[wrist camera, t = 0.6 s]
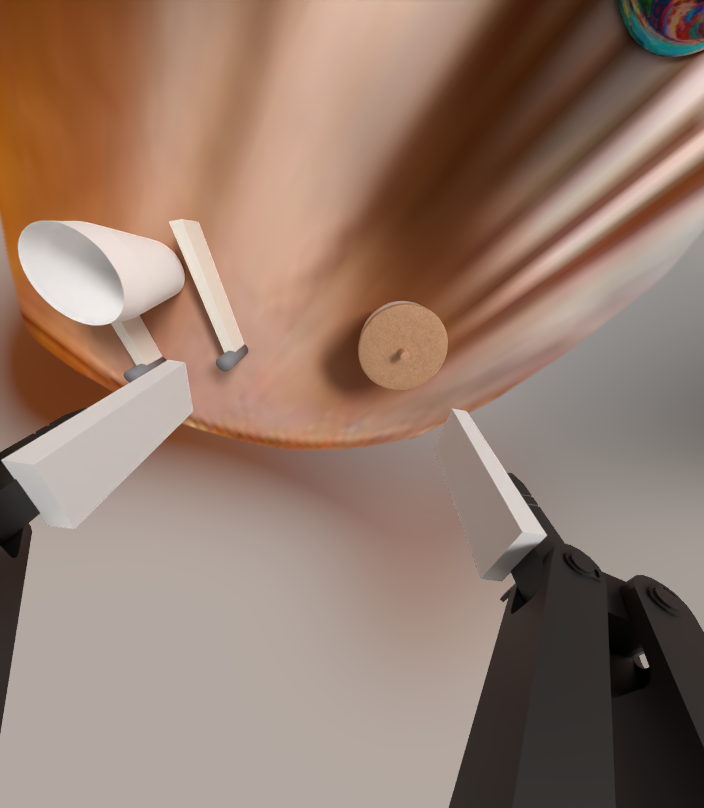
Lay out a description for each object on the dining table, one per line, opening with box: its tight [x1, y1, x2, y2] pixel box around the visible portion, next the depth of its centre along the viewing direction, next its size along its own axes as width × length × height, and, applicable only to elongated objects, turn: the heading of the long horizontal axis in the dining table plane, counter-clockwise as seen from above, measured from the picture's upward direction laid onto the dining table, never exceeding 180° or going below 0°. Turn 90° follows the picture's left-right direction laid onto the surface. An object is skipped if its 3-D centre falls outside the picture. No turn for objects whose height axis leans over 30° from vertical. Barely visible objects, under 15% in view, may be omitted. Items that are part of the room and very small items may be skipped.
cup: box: [18, 221, 185, 325], centre depth 29 cm, size 9×9×12 cm
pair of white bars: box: [111, 219, 248, 383], centre depth 34 cm, size 17×16×6 cm
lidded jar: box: [358, 301, 448, 390], centre depth 34 cm, size 11×11×9 cm
